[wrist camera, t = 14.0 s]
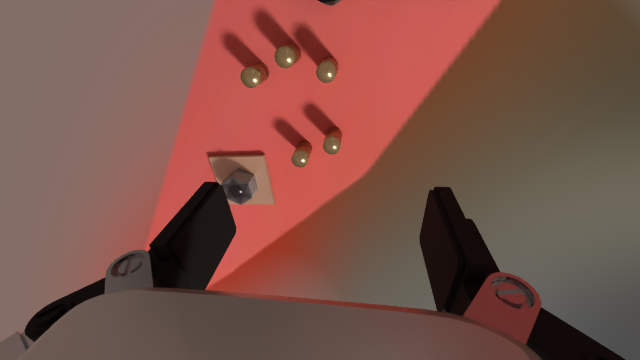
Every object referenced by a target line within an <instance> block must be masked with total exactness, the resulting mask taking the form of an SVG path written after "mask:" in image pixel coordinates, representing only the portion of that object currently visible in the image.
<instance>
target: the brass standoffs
mask: <svg viewBox="0 0 640 360" xmlns="http://www.w3.org/2000/svg"><path fill="white" fill-rule="evenodd" d="M300 57H301V50H300V48H299V47H298V46H297V45H296V44H293V43H290V44H287V45H285V46H282V47H280V48H278V49H277V50H276V52H275V61H276V63H277V64H278V65H279V66H280V67H282V68H288V67H290V66H292V65H293V64H294V63H296V62H297V61H298V60H299V59H300ZM337 71H338V62H337V61H336V59H334V58H332V57H327V58H325V59H324V60H323V61H322V62H321V63H320V64H319V66H318V67H317V70H316V74H317V77H318V79H319V80H320V81H322V82H325V83H328V82H331V81H332V80H333V79H334V78H335V75H336V73H337ZM268 76H269V70H268V68H267V66H266V65H264V64H263V63H257V64H255V65H252V66H250V67H248V68H246V69H244V70H243V71H242V72H241V81H242V83H243V84H244V85H245V86H247V87H249V88H253V87H256V86H257V85H259V84H260V83H262V82H263V81H265V80H266V79H267V78H268ZM341 137H342V133H341V131H340V129H338V128H336V127H332V128H330V129H329V130H328V131H327V134H326V137H325V141H324V144H323V148H324V150H325V152H327V153H328V154H335V153H337V152H338V151H339V149H340V144H341ZM311 151H312V146H311V144H310V143H309V142H308V141H301V142H299V144H298V146H297V148H296V150H295V152H294V154H293V156H292V163H293V164H294V165H295V166H297V167H304V166H305V165H306V164H307V162H308V159H309V156H310V153H311Z"/></svg>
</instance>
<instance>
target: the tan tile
mask: <svg viewBox="0 0 640 360" xmlns="http://www.w3.org/2000/svg"><path fill="white" fill-rule="evenodd" d="M209 160H210V163H211V166H212V169H213V172H214V175H215V178H216V181H217V182H218V183H219V184H221V183H222V182H223V181H224V179H225V178H226V177H227V176H228V175H229V174H231V173H232V172H234V171H235V170H236V169H238V168H240V169H243V170H245V171H247V172H250V173H252V174H254V175H255V179H256V183H257V186H258V189H257V191H256V193H255V194H254V196H253V198H251V199H250V200H248V201H246V202H245V203H243V204H275V202H276V201H275V197H274V192H273V188H272V183H271V179H270V174H269V169H268V165H267V160H266V156H265V154H253V155H216V156H210V157H209ZM227 200H228V199H227ZM228 203H229V204H238V203H235V202H233V201H231V200H228Z"/></svg>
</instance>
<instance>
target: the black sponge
mask: <svg viewBox="0 0 640 360" xmlns="http://www.w3.org/2000/svg"><path fill="white" fill-rule="evenodd" d="M318 1H320V2H322V3H324V4H327V5H335V4H336V3H338V2H340V1H341V0H318Z"/></svg>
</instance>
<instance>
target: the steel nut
mask: <svg viewBox="0 0 640 360" xmlns="http://www.w3.org/2000/svg"><path fill="white" fill-rule="evenodd" d="M220 185H222V186H223V188H224V191H225V194H226V197H227V199H228V200H231V201H233V202H235V203H238V204H240V205H241V204H243V203H245V202H246V201H248V200H250V199H251V198H253V196H254V194H255V193H256V191H257V189H258V186H257V183H256V179H255V175H254V174H252V173H250V172H247V171H245V170H243V169H240V168H238V169H236V170H235V171H234V172H232V173H231V174H229V175H228V176H227V177H226V178H225V179H224V181H223V182H222V183H221V184H220Z"/></svg>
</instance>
